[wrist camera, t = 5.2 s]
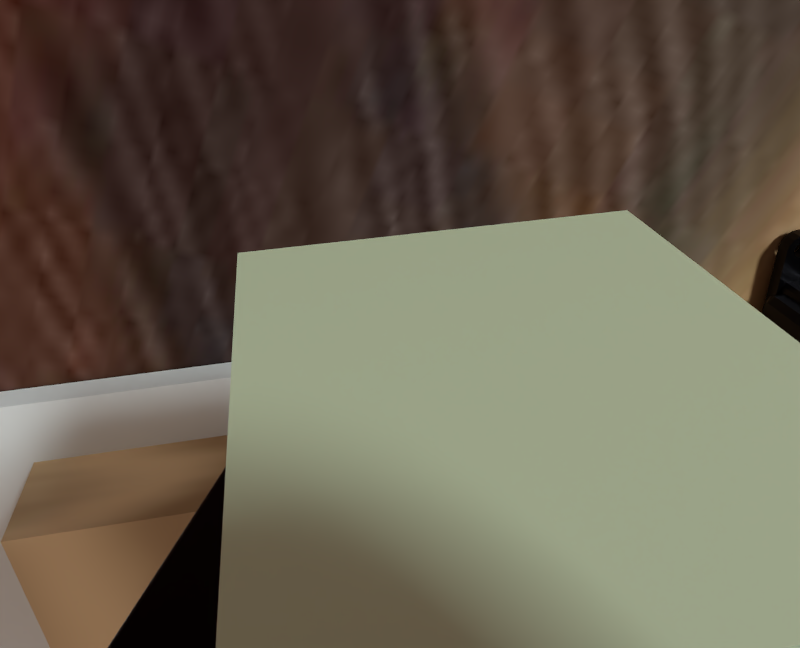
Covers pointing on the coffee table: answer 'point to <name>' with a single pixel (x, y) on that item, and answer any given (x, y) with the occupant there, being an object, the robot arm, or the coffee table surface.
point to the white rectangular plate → (95, 444)
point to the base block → (104, 532)
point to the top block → (507, 446)
